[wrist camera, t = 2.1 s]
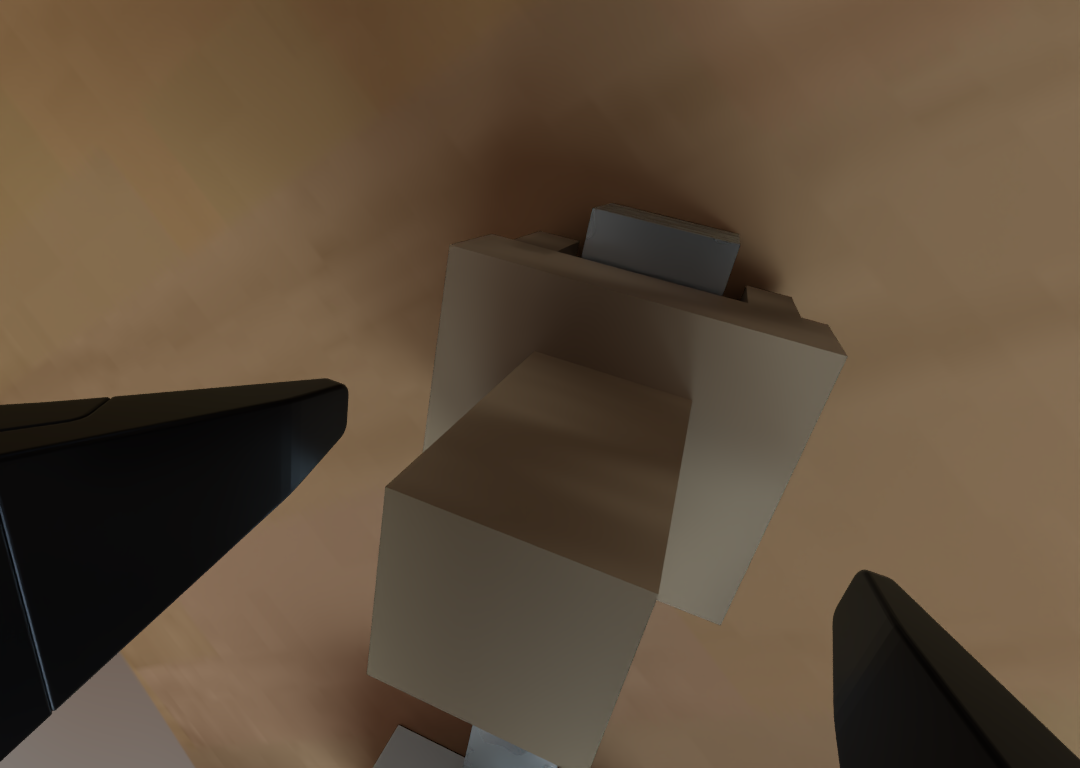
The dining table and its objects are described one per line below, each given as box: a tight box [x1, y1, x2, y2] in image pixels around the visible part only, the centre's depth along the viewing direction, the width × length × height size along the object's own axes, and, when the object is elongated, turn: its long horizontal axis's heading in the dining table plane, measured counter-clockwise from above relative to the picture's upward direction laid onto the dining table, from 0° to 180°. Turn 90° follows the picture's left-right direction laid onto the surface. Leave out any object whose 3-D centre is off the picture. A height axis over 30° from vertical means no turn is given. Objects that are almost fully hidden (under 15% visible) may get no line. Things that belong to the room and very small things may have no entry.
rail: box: [463, 203, 740, 768], centre depth 16 cm, size 3×22×2 cm, turn 168°
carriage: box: [367, 231, 848, 768], centre depth 10 cm, size 7×6×9 cm
